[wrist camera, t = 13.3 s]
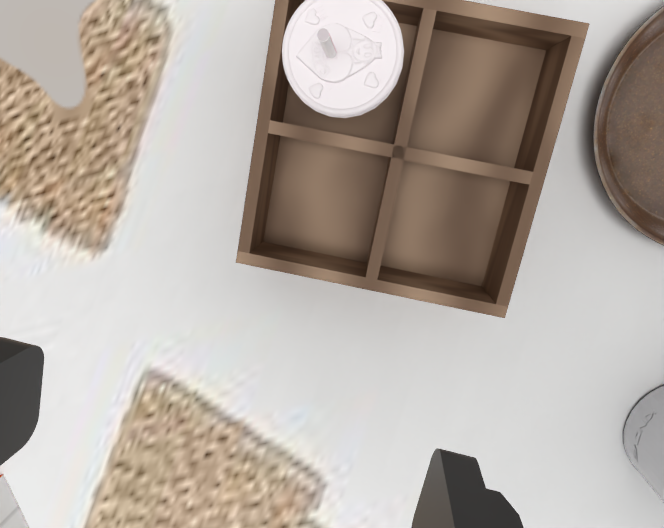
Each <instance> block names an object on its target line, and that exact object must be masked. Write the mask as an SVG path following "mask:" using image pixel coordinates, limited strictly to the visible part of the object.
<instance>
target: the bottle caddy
mask: <svg viewBox="0 0 664 528" xmlns="http://www.w3.org/2000/svg"><path fill="white" fill-rule="evenodd" d="M304 1H305V0H275V6H274V13H273V20H272V26H271V33H270V40H269V46H268V53H267V60H266V66H265V73H264V80H263V86H262V93H261V99H260V106H259V113H258V119H257V126H256V133H255V139H254V146H253V153H252V159H251V166H250V173H249V179H248V186H247V192H246V199H245V206H244V212H243V219H242V226H241V232H240V239H239V246H238V252H237V259H236V262H237V263H241V264H246V265H251V266H256V267H261V268H266V269H270V270H275V271H280V272H285V273H290V274H295V275H299V276H304V277H309V278H314V279H319V280H324V281H328V282H333V283H338V284H343V285H348V286H353V287H357V288H362V289H367V290H372V291H377V292H382V293H386V294H391V295H396V296H401V297H406V298H410V299H415V300H420V301H425V302H430V303H435V304H439V305H444V306H449V307H454V308H459V309H464V310H468V311H473V312H478V313H483V314H488V315H493V316H497V317H502V318H505V315H506V312H507V308H508V305H509V301H510V298H511V294H512V291H513V287H514V284H515V280H516V277H517V273H518V270H519V267H520V263H521V260H522V256H523V253H524V249H525V246H526V242H527V239H528V235H529V232H530V228H531V225H532V221H533V218H534V214H535V211H536V207H537V204H538V201H539V197H540V194H541V190H542V187H543V183H544V180H545V176H546V173H547V169H548V166H549V162H550V159H551V155H552V152H553V148H554V145H555V141H556V138H557V135H558V131H559V128H560V124H561V121H562V117H563V114H564V110H565V107H566V103H567V100H568V96H569V93H570V89H571V86H572V82H573V79H574V75H575V72H576V69H577V65H578V62H579V58H580V55H581V51H582V48H583V44H584V41H585V37H586V34H587V30H588V27H589V24H588V23H583V22H578V21H572V20H567V19H561V18H556V17H551V16H545V15H540V14H534V13H529V12H524V11H518V10H513V9H507V8H502V7H497V6H491V5H486V4H480V3H475V2H470V1H464V0H382V1H383V2H384V3H385V4H386V5H387V6H388V7H389V9H390V10H391V11H392V13H393V14H394V16H395V18H396V20H397V22H398V24H399V27H400V30H401V34H402V39H403V47H404V58H403V67H402V71H401V73H400V76H399V79H398V81H397V84H396V86H395V87H394V88H393V90H392V91H391V93H390V94H389V96H388V97H387V98H386V99H385V100H384V101H383V102H382V103H381V104H379V105H378V106H377V107H376V108H375V109H372V110H370V111H368V112H366V113H364V114H362V115H359V116H354V117H349V118H338V117H330V116H327V115H324V114H321V113H319V112H316V111H315V110H313V109H312V108H311V107H309V106H308V105H306V104H305V103H304V102H303V101H302V100H301V99H300V98H299V96H298V95H297V94H296V93H295V92H294V90H293V88H292V87H291V85H290V83H289V81H288V79H287V76H286V74H285V70H284V66H283V60H282V44H283V38H284V34H285V30H286V28H287V25H288V23H289V21H290V19H291V17H292V15H293V14H294V12H295V11H296V10H297V8H298V7H299V6H300V5H301V4H302V3H303V2H304Z"/></svg>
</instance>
